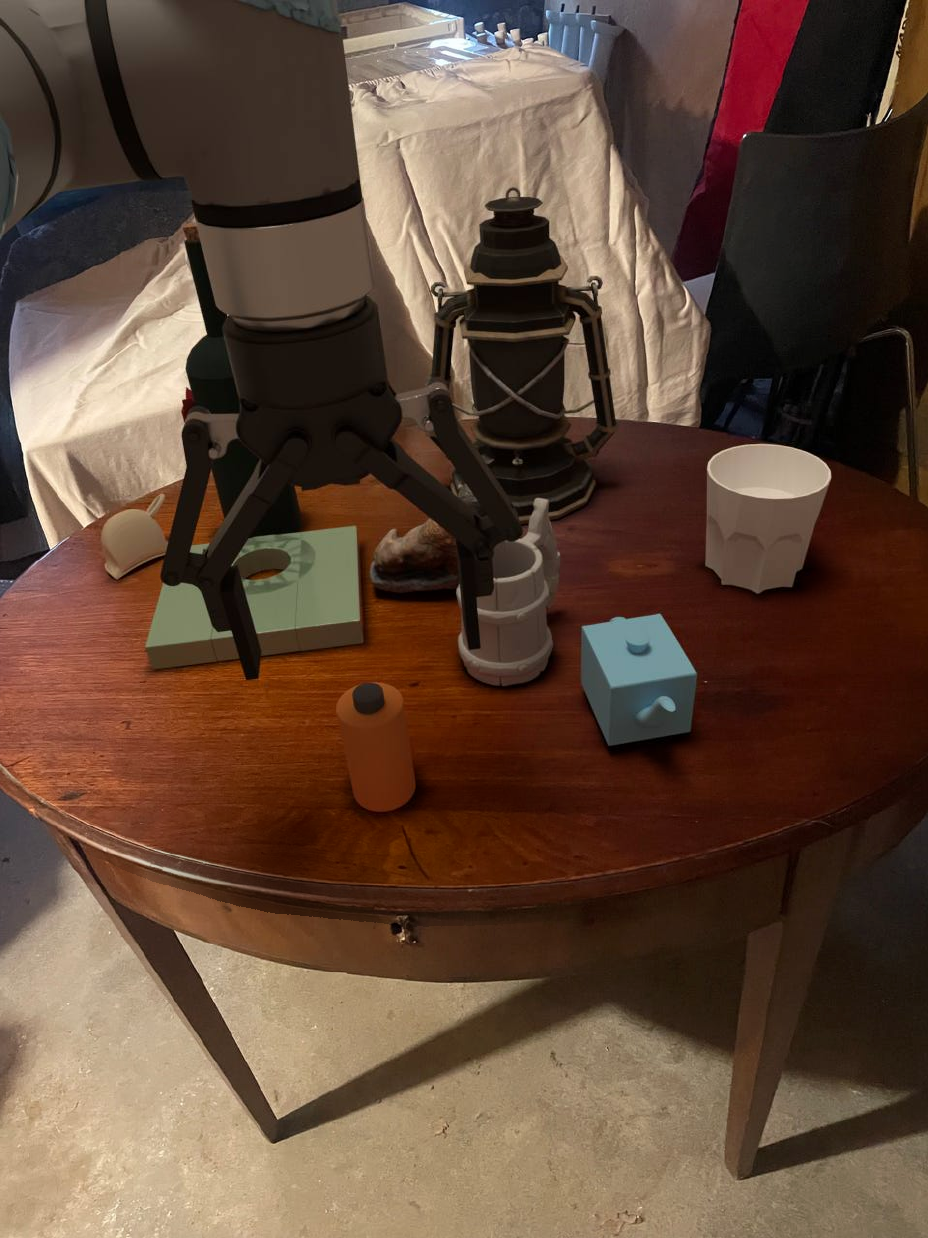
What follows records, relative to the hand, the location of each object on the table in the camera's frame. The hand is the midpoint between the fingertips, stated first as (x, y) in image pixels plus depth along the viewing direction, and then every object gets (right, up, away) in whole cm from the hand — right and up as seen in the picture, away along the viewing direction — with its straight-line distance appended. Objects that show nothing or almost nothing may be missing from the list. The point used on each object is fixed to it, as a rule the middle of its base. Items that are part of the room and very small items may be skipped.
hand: (363, 651), depth 54 cm
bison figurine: (+4, +5, +28) cm, 29 cm away
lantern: (+13, +16, +41) cm, 46 cm away
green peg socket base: (-12, +3, +27) cm, 30 cm away
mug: (+11, 0, +19) cm, 22 cm away
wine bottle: (-16, +11, +38) cm, 43 cm away
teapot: (+19, -6, +11) cm, 23 cm away
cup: (+33, +7, +26) cm, 43 cm away
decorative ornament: (-26, +8, +35) cm, 45 cm away
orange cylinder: (+1, -10, +7) cm, 12 cm away
